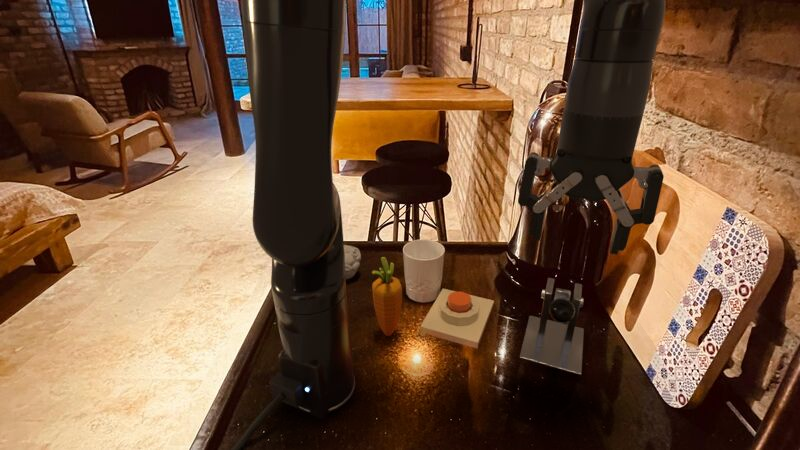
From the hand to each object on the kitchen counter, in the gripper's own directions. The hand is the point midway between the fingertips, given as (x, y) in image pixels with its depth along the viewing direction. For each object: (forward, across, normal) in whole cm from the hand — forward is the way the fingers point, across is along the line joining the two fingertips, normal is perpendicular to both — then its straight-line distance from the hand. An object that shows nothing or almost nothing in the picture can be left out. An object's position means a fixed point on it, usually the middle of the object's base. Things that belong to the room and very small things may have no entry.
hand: (574, 244), depth 49 cm
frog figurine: (+24, -42, +14) cm, 50 cm away
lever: (+13, 0, +4) cm, 14 cm away
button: (+20, -16, +9) cm, 27 cm away
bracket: (+24, 0, +9) cm, 26 cm away
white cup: (+24, -25, +15) cm, 38 cm away
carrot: (+24, -26, +1) cm, 35 cm away
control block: (+24, -16, +9) cm, 30 cm away
